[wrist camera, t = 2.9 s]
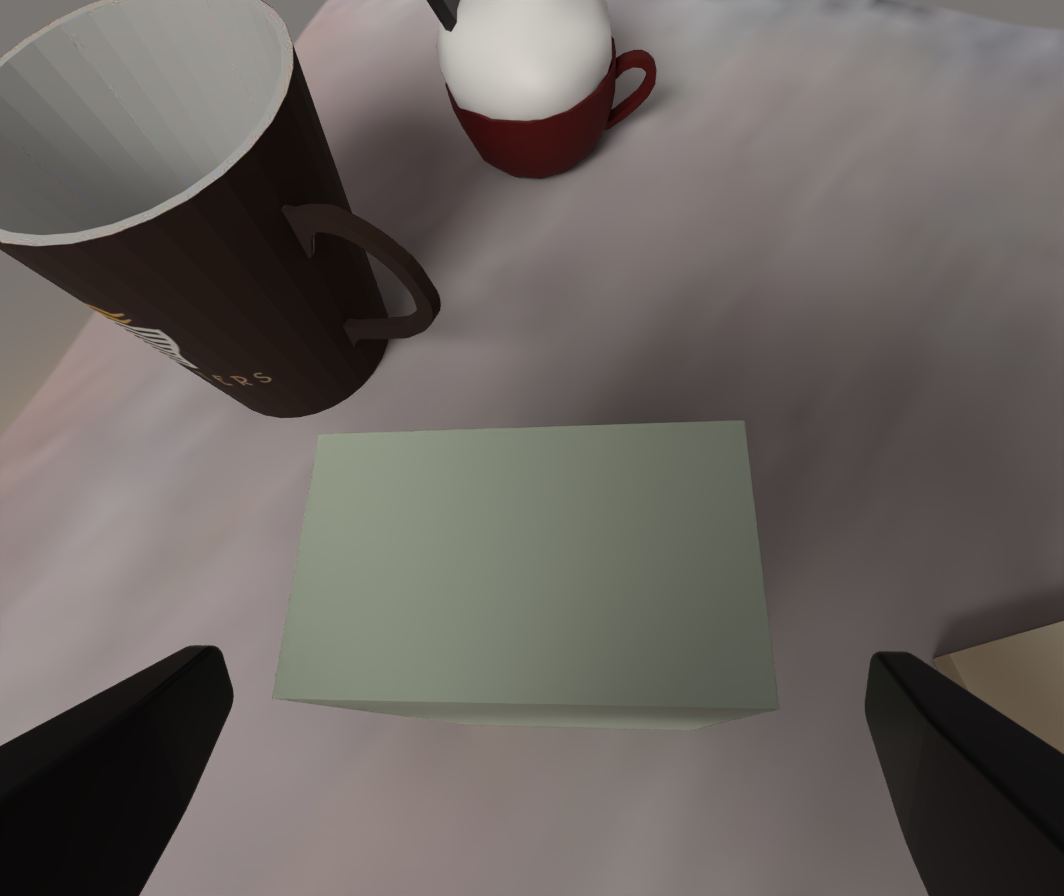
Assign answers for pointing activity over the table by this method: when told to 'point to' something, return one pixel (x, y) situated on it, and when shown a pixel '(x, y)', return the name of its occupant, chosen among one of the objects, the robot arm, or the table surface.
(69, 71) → the coffee mug
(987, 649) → the ledge board
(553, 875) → the table surface
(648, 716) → the sage green box
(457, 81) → the cocoa
